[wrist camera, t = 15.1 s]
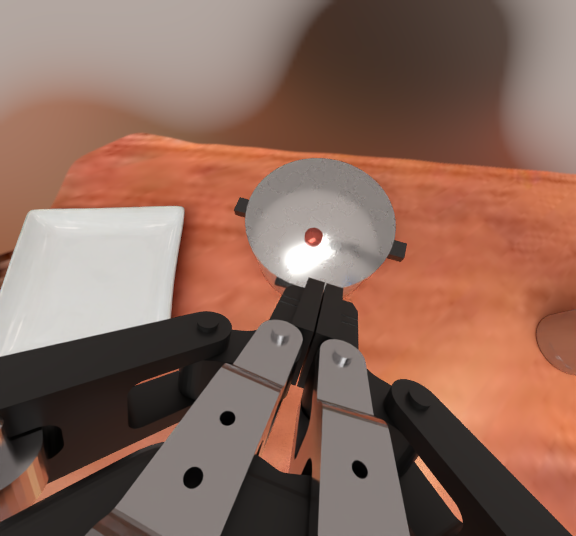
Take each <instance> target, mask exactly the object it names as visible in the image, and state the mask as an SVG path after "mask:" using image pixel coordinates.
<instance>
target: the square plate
mask: <svg viewBox="0 0 576 536" xmlns="http://www.w3.org/2000/svg"><path fill="white" fill-rule="evenodd" d="M183 223H184V208H183V207H181V206H152V207H122V208H86V209H40V210H31V211H30V212H29V213H28V214H27V216H26V219H25V221H24V224H23V227H22V230H21V233H20V235H19V238H18V241H17V244H16V247H15V249H14V252H13V255H12V258H11V261H10V264H9V267H8V270H7V273H6V276H5V279H4V282H3V285H2V287H1V290H0V357H1V356H5V355H10V354H14V353H19V352H23V351H28V350H32V349H37V348H41V347H46V346H50V345H54V344H59V343H63V342H68V341H72V340H77V339H81V338H86V337H90V336H95V335H99V334H104V333H108V332H112V331H117V330H121V329H126V328H130V327H135V326H139V325H144V324H148V323H153V322H157V321H161V320H166V319H170V318H171V309H172V297H173V287H174V279H175V272H176V264H177V258H178V252H179V246H180V241H181V235H182V229H183Z"/></svg>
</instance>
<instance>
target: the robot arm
mask: <svg viewBox="0 0 576 536" xmlns="http://www.w3.org/2000/svg"><path fill="white" fill-rule="evenodd" d="M324 285H325V282H322V281H319V280H316V279H313V278H310V277H309V278H308V280H307V283H306V286H305V288H303V287H300V286H297V285H294V284H293V285H291V286H289V287H287V288H285V290H284V292H283V294H282V296H281V298H280V300H279V302H278V304H277V306H276V308H275V310H274V312H273V314H272V316H271V318H270V320H269V321H266V322H264V323H262V324H261V325H260V326H259V328H258V329H257V330H254V331H239V330H232V325H231V323H230V321H229V320H228V319H227V318H226V317H225V316H223V315H221V314H218V313H215V312H207V311H205V312H197V313H193V314H188V315H184V316H179V317H175V318H170V319H166V320H161V321H157V322H153V323H148V324H144V325H139V326H135V327H130V328H126V329H121V330H117V331H112V332H108V333H104V334H99V335H95V336H90V337H86V338H81V339H77V340H72V341H68V342H63V343H59V344H54V345H50V346H46V347H41V348H37V349H32V350H28V351H23V352H19V353H14V354H10V355H5V356H1V357H0V536H572V535H571V534H570V533H569V532H568V531H567V530H566V529H565V528H564V527H563V526H562V525H561V524H560V523H559V522H558V521H557V520H556V519H555V517H554V516H553V515H552V514H551V513H550V512H549V511H548V510H547V509H546V508H545V507H544V506H543V505H542V504H541V503H540V502H539V501H538V500H537V499H536V498H535V497H534V496H533V495H532V494H531V493H530V492H529V491H528V490H527V489H526V488H525V487H524V486H523V485H522V484H521V483H520V482H519V481H518V480H517V479H516V478H515V477H514V476H513V475H512V474H511V473H510V472H509V471H508V470H507V469H506V468H505V467H504V466H503V464H502V463H501V462H500V461H499V460H498V459H497V458H496V457H495V456H494V455H493V454H492V453H491V452H490V451H489V450H488V449H487V448H486V447H485V446H484V445H483V444H482V443H481V442H480V441H479V440H478V439H477V438H476V437H475V436H474V435H473V434H472V433H471V432H470V431H469V430H468V429H467V428H466V427H465V426H464V425H463V424H462V423H461V422H460V421H459V420H458V419H457V418H456V417H455V416H454V415H453V414H452V413H451V412H450V410H449V409H448V408H447V407H446V406H445V405H444V404H443V403H442V402H441V401H440V400H439V399H438V398H437V397H436V396H435V395H434V394H433V393H432V392H431V391H429V390H428V389H427V388H425V387H424V386H422V385H420V384H419V383H416V382H414V381H411V380H407V379H400V380H397V381H395V382H394V383H393V384H392V386H391V385H389V384H388V383H386V382H384V381H383V380H381V379H379V378H378V377H376V376H375V375H373V374H372V373H371V372H370V371H369V370H368V369H367V368H366V362H365V359H364V357H363V355H362V354H361V352H360V351H359V350H358V311H357V310H356V308H355V306H354V305H353V303H350V302H347V301H344V300H343V288H341V287H338V286H335V285H332V284H329V283H326V285H325V288H324ZM323 290H324V291H323ZM536 333H537V342H538V345H539V347H540V350H541V352H542V353H543V355H544V356H545V358H546V359H547V360H548V361H549V362H550V363H551V364H552V365H554V366H555V367H556V368H557V369H559V370H561V371H563V372H565V373H568V374H571V375H576V309H575V310H571V311H566V312H561V313H556V314H552V315H548V316H547V317H545V318H543V319H542V320H541V322H540V323H539V325H538V327H537V332H536ZM301 368H302V369H301ZM176 369H179V371H176V372H173V373H170V374H167V375H165V376H162V377H159V378H156V379H153V380H150V381H147V382H145V383H142V384H139V385H136V384H138V383H139V382H141V381H144V380H147V379H150V378H153V377H155V376H158V375H161V374H164V373H167V372H170V371H173V370H176ZM300 370H301V373H300ZM299 373H300V377H299V381H298V385H297V386H298V387H301V388H304V390H303V395H302V398H301V401H300V403H299V406H298V410H297V417H296V424H295V432H294V439H293V447H292V454H291V461H290V468H289V473H283V472H280V471H278V470H277V469H275V468H274V467H273V466H271V465H270V464H269V463H267V462H266V461H265V460H263V459H262V458H261V456H262V454H263V451H264V449H265V446H266V444H267V441H268V438H269V436H270V433H271V431H272V428H273V426H274V423H275V420H276V418H277V415H278V413H279V410H280V408H281V405H282V402H283V399H284V398H285V397H286V396H287V393H288V391H289V388H290V385H291V384H292V385H296V382H297V379H298V376H299ZM135 385H136V386H135ZM178 422H179V424H178V425H177V426H176V428H175V429H174V430H173V432H172V433H171V434H170V436H169V437H168V438H167V440H166V441H165V442H161V443H157V444H154V445H150V446H148V447H145V448H143V449H140V450H138V451H136V452H134V453H132V454H130V455H128V456H126V457H124V458H122V459H120V460H118V461H116V462H114V463H112V464H110V465H109V466H107V467H105V468H103V469H101V470H99V471H97V472H95V473H93V474H91V475H89V476H87V477H86V478H84V479H82V480H80V481H78V482H76V483H74V484H72V485H70V486H68V487H66V488H64V489H63V490H61V491H59V492H57V493H55V494H53V495H51V496H49V497H47V498H45V499H43V500H41V501H40V502H38V503H36V504H34V505H32V504H33V503H34V502H35V501H36V500H37V498H38V497H39V496H40V494H41V493H42V491H43V490H44V488H45V486H46V484H48V483H50V482H52V481H54V480H56V479H59V478H61V477H63V476H65V475H67V474H69V473H71V472H73V471H76V470H78V469H80V468H82V467H84V466H86V465H88V464H91V463H93V462H95V461H97V460H99V459H101V458H103V457H105V456H108V455H110V454H112V453H114V452H116V451H118V450H120V449H123V448H125V447H127V446H129V445H131V444H133V443H135V442H137V441H140V440H142V439H144V438H146V437H148V436H150V435H152V434H155V433H157V432H159V431H161V430H163V429H165V428H167V427H169V426H172V425H174V424H176V423H178ZM418 456H420V458H421V459H422V460H423V462H424V463H425V464H426V466H427V467H428V468H429V469H430V471H431V472H432V473H433V475H434V476H435V477H436V478H437V480H438V481H439V482H440V484H441V485H442V486H443V488H444V489H445V490H446V491H447V493H448V494H449V495H450V497H451V498H452V499H453V501H454V502H455V503H456V505H457V507H458V508H459V510H460V513H461V515H462V519H463V523H462V522H461V521H459V520H458V519H457V518H456V517H455V516H454V514H453V513H452V512H451V510H450V509H449V508H448V506H447V505H446V504H445V502H444V501H443V500H442V498H441V497H440V496H439V494H438V493H437V492H436V490H435V489H434V488H433V486H432V485H431V484H430V482H429V481H428V480H427V478H426V477H425V475H424V474H423V473H422V471H421V470H420V469H419V467H418V466H417V465H416V463H415V462H414V461H415V460H416V459H417V457H418ZM31 505H32V506H31Z"/></svg>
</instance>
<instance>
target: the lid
mask: <svg viewBox="0 0 576 536" xmlns="http://www.w3.org/2000/svg"><path fill="white" fill-rule="evenodd" d="M245 226H246V233H247V237H248V241H249V244H250V246H251V249H252V251H253V253H254V255H255V257H256V258H257V260H258V261H259V262H260V264H261V265H262V266H263V267H264V268H265V269H266V270H267V271H268V272H269V273H270V274H271V275H272V276H274V277H275V278H276V280H275V284H274V285H276V286H279V287H283V288H287V287H289V286H291V285H293V284H294V285H297V286H300V287H303V288H305V286H306V283H307V280H308V278H309V277H310V278H313V279H316V280H319V281H322V282H325V285H326V283H329V284H332V285H335V286H338V287H341V288H343V289H347V288H350V287H352V286H355V285H357V284H359V283H361V282H362V281H364V280H366V279H367V278H368V277H369V276H371V275H372V274H373V273H374V272H375V271H376V270H377V269H378V268H379V267H380V266H381V264H382V263H383V262H384V261H385V259H386V258H387V256H388V254H389V252H390V250H391V248H392V245H393V242H394V238H395V231H396V223H395V215H394V211H393V208H392V205H391V203H390V200H389V198H388V196H387V195H386V193H385V192H384V190H383V189H382V188H381V187H380V185H379V184H378V183H377V182H376V181H375V180H374V179H373V178H372V177H370V176H369V175H368V174H366V173H365V172H363V171H362V170H360V169H358V168H356V167H354V166H352V165H350V164H347V163H344V162H341V161H337V160H332V159H325V158H310V159H302V160H298V161H294V162H291V163H288V164H285V165H283V166H281V167H279V168H277V169H276V170H274V171H273V172H271V173H270V174H269V175H267V176H266V177H265V178H264V179H263V180H262V181H261V182H260V183H259V184H258V186H257V187H256V189H255V190H254V192H253V193H252V195H251V197H250V200H249V202H248V205H247V210H246V216H245ZM325 285H324V288H325ZM323 291H324V290H323Z"/></svg>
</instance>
